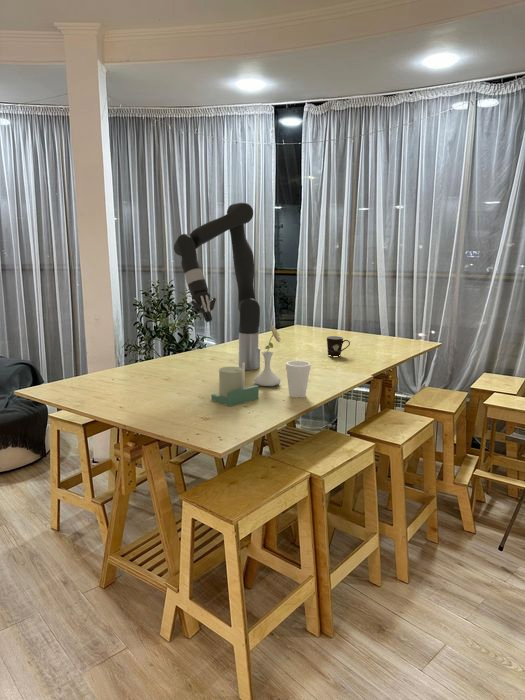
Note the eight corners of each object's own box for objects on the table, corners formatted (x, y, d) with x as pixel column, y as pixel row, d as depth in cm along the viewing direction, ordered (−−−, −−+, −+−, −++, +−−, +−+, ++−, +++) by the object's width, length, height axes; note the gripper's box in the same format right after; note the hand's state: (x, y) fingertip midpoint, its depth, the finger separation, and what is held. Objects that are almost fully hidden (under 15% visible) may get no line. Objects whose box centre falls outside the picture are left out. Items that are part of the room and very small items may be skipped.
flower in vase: (271, 390, 201) (272, 329, 196) (248, 385, 207) (248, 326, 202) (287, 382, 212) (288, 324, 207) (264, 378, 218) (265, 322, 213)
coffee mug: (324, 357, 260) (324, 338, 258) (328, 353, 268) (329, 335, 266) (346, 359, 256) (347, 340, 254) (349, 355, 264) (350, 337, 261)
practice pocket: (211, 399, 188) (211, 361, 185) (240, 392, 198) (240, 355, 195) (229, 406, 181) (229, 366, 178) (258, 398, 191) (258, 360, 187)
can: (236, 403, 184) (236, 372, 181) (214, 400, 187) (214, 369, 185) (247, 397, 192) (247, 366, 190) (225, 393, 196) (225, 364, 193)
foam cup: (293, 400, 189) (293, 367, 186) (280, 393, 197) (281, 362, 194) (314, 397, 193) (315, 364, 190) (301, 390, 201) (302, 359, 198)
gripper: (187, 279, 197) (201, 320, 196) (213, 277, 206) (226, 316, 205) (178, 287, 203) (191, 326, 201) (203, 284, 212) (216, 322, 210)
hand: (209, 321), depth 203 cm, fingers closed
